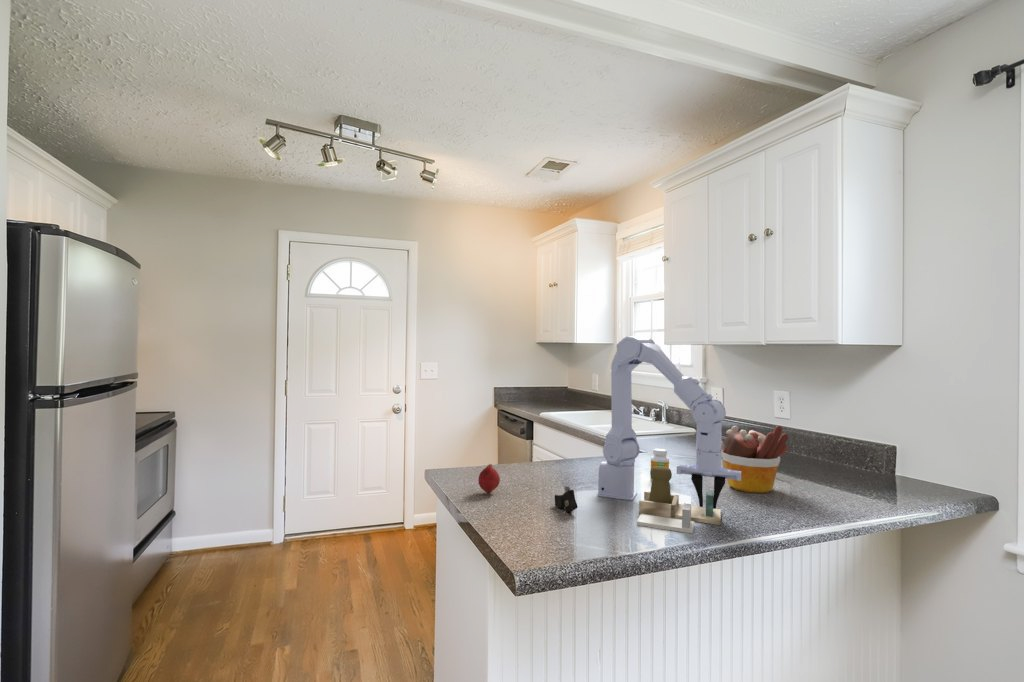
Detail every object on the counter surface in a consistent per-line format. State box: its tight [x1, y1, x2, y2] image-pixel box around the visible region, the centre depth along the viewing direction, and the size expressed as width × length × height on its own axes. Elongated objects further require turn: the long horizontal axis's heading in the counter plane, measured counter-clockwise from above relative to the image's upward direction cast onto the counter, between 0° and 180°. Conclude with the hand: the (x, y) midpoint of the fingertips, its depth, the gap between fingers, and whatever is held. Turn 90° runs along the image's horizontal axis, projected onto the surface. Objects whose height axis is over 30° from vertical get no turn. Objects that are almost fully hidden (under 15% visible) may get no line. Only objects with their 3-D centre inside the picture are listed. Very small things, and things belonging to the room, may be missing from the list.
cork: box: [649, 466, 673, 504], centre depth 127 cm, size 6×6×11 cm
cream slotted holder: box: [638, 489, 722, 526], centre depth 125 cm, size 18×10×6 cm, turn 67°
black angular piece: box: [554, 485, 579, 513], centre depth 125 cm, size 9×2×6 cm
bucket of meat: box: [721, 425, 789, 494], centre depth 151 cm, size 20×16×20 cm
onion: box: [478, 463, 501, 494], centre depth 138 cm, size 6×6×8 cm
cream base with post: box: [636, 502, 695, 535], centre depth 116 cm, size 12×6×5 cm, turn 67°
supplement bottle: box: [650, 448, 670, 482], centre depth 157 cm, size 5×5×10 cm
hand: (707, 506), depth 123 cm, fingers open, 2 cm apart
